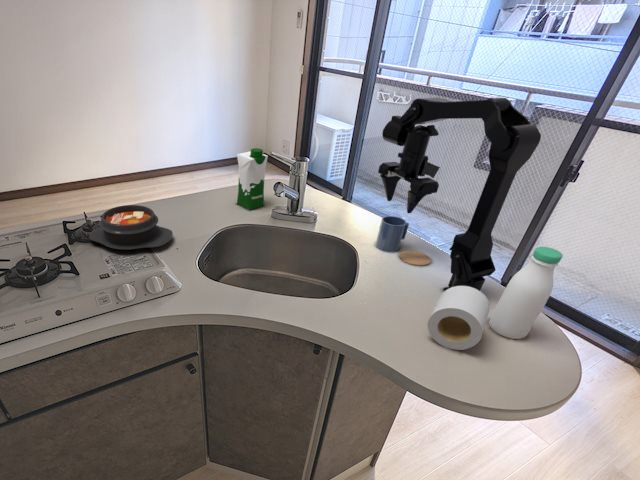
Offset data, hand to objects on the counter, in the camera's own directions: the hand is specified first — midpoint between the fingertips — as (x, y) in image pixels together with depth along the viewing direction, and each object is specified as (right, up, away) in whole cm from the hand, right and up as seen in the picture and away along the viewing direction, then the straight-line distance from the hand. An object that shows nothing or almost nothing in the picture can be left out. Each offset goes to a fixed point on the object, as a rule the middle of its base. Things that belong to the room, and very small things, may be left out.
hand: (398, 206), depth 113 cm
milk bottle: (+15, -34, -23) cm, 44 cm away
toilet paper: (+1, -35, -26) cm, 43 cm away
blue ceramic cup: (0, -10, +8) cm, 13 cm away
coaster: (+5, -15, +2) cm, 16 cm away
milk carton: (-42, +8, +31) cm, 53 cm away
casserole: (-79, -9, +7) cm, 79 cm away
